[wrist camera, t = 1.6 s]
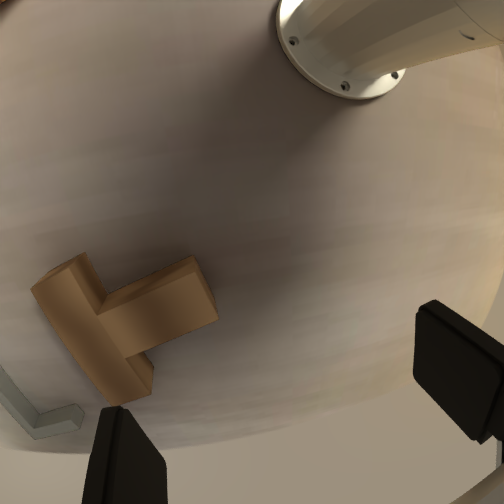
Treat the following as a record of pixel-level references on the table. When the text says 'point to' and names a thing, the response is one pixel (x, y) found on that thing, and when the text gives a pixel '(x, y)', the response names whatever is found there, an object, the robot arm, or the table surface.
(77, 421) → the bracket
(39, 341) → the table surface
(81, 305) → the t block
